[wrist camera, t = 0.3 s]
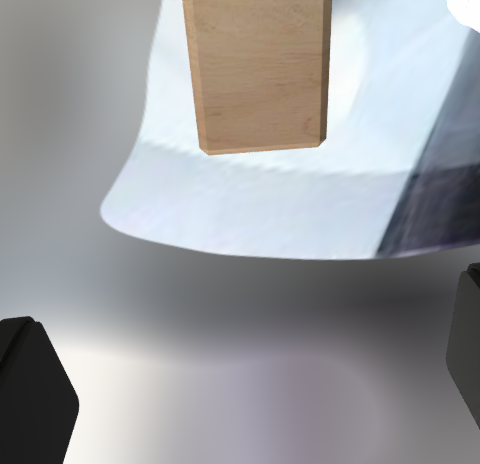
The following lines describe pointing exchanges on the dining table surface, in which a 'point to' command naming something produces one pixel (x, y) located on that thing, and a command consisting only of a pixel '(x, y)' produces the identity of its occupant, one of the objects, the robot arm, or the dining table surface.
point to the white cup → (466, 12)
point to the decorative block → (259, 73)
